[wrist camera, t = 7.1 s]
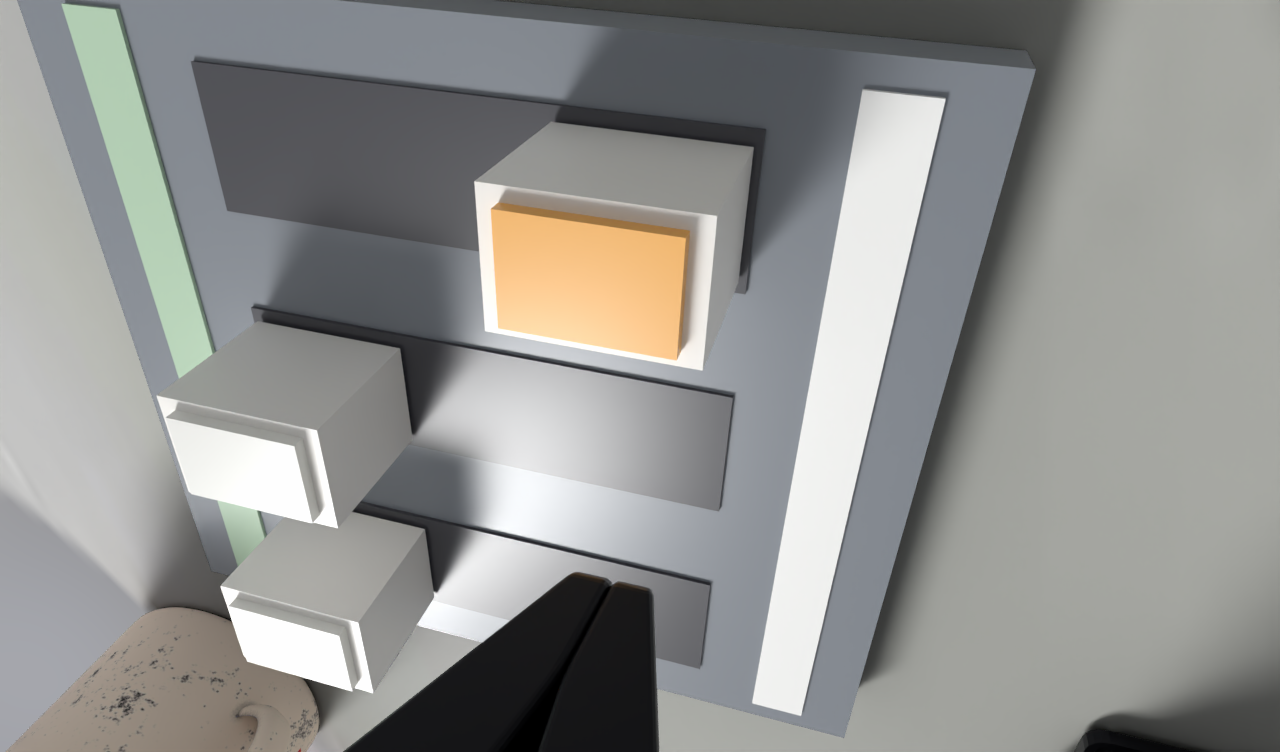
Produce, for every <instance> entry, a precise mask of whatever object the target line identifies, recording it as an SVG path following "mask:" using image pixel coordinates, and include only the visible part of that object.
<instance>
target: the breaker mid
mask: <svg viewBox="0 0 1280 752" xmlns="http://www.w3.org/2000/svg"><path fill="white" fill-rule="evenodd" d="M156 396H157V399H158V402H159V405H160V408H161V411H162V414H163V417H164V420H165V423H166V426H167V429H168V432H169V435H170V438H171V441H172V444H173V447H174V450H175V453H176V456H177V459H178V462H179V465H180V468H181V471H182V474H183V476H184V479H185V482H186V485H187V488H188V491H189V492H190V493H191V494H193V495H197V496H201V497H205V498H209V499H214V500H218V501H222V502H226V503H230V504H234V505H238V506H242V507H247V508H251V509H255V510H259V511H263V512H267V513H271V514H275V515H279V516H284V517H288V518H292V519H296V520H300V521H304V522H308V523H312V524H313V522H314V523H318V524H322V525H326V526H330V527H335V528H339V526H340V525H341V524H342V523H343V522H344V520H345V519H346V518H347V517H348V516H349V515H350V513H351V512H352V511H353V510H354V509H355V507H356V506H357V505H358V504H359V503H360V501H361V500H362V499H363V498H364V497H365V495H366V494H367V493H368V492H369V491H370V490H371V488H372V487H373V486H374V485H375V484H376V482H377V481H378V480H379V479H380V478H381V476H382V475H383V474H384V473H385V472H386V470H387V469H388V468H389V467H390V466H391V465H392V463H393V462H394V461H395V460H396V459H397V457H398V456H399V455H400V454H401V453H402V451H403V450H404V449H405V448H406V447H407V445H408V444H409V443H410V442H411V441H412V440H413V439H412V431H411V424H410V417H409V410H408V402H407V395H406V388H405V381H404V373H403V366H402V359H401V352H400V348H396V347H390V346H385V345H380V344H375V343H369V342H364V341H359V340H354V339H348V338H343V337H338V336H333V335H327V334H322V333H317V332H312V331H306V330H301V329H296V328H290V327H285V326H280V325H275V324H269V323H264V322H259V321H257V322H256V323H255V324H253V325H252V326H250V327H249V328H248V329H246V330H245V331H244V332H242V333H241V334H240V335H238V336H237V337H235V338H234V339H233V340H231V341H230V342H229V343H227V344H226V345H224V346H223V347H222V348H220V349H219V350H218V351H216V352H215V353H214V354H212V355H211V356H209V357H208V358H207V359H205V360H204V361H203V362H201V363H200V364H199V365H197V366H196V367H194V368H193V369H192V370H190V371H189V372H188V373H186V374H185V375H184V376H182V377H181V378H179V379H178V380H177V381H175V382H174V383H173V384H171V385H170V386H169V387H167V388H166V389H164V390H163V391H162V392H160V393H159V394H158V395H156Z"/></svg>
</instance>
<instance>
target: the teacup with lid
mask: <svg viewBox="0 0 1280 752" xmlns="http://www.w3.org/2000/svg"><path fill="white" fill-rule="evenodd" d="M318 727H319V713H318V708H317V704H316V701H315V699H314V697H313V694H312V692H311V691H310V689H309V687H308V685H307V684H306V682H305V681H304V679H303V678H302V677H300V676H296V675H293V674H289V673H286V672H282V671H279V670H275V669H272V668H268V667H265V666H261V665H258V664H254V663H251V662H247V660H246V657H245V656H244V655H243V652H242V649H241V646H240V643H239V640H238V637H237V634H236V631H235V628H234V625H233V622H231V621H229V620H227V619H225V618H222V617H219V616H217V615H214V614H211V613H208V612H204V611H200V610H195V609H190V608H181V607H169V608H161V609H157V610H154V611H151V612H149V613H146V614H145V615H143V616H141V617H140V618H139V619H138V620H137V621H136V622H134V624H133V625H132V626H130V627H129V628H128V630H127V631H125V632H124V633H123V635H121V636H120V637H119V639H118V640H117V641H116V642H115V643H114V644H113V645H112V646H111V647H110V648H109V649H108V650H107V651H106V652H105V653H104V654H103V655H102V656H101V657H100V658H99V659H98V660H97V661H96V662H95V663H94V664H93V665H92V666H91V667H90V668H89V669H88V670H87V671H86V672H85V673H84V674H83V675H82V676H81V677H80V678H79V679H78V680H77V681H76V682H75V683H74V684H73V685H72V686H71V687H70V688H69V689H68V690H67V691H66V692H65V693H64V694H63V695H62V696H61V697H60V698H59V699H58V700H57V701H56V702H55V703H54V704H53V705H52V706H51V707H50V708H49V709H48V710H47V711H46V712H45V713H44V714H43V715H42V716H41V717H40V718H39V719H38V720H37V721H36V722H35V723H34V724H33V725H32V726H31V727H30V728H29V729H28V730H27V731H26V732H25V733H24V734H23V735H22V736H21V737H20V738H19V739H18V740H17V741H16V742H15V743H14V744H13V745H12V746H11V747H10V748H9V749H8V750H7V751H6V752H306V751H307V750H308V748H309V747H310V745H311V744H312V742H313V741H314V739H315V737H316V735H317V732H318Z"/></svg>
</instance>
